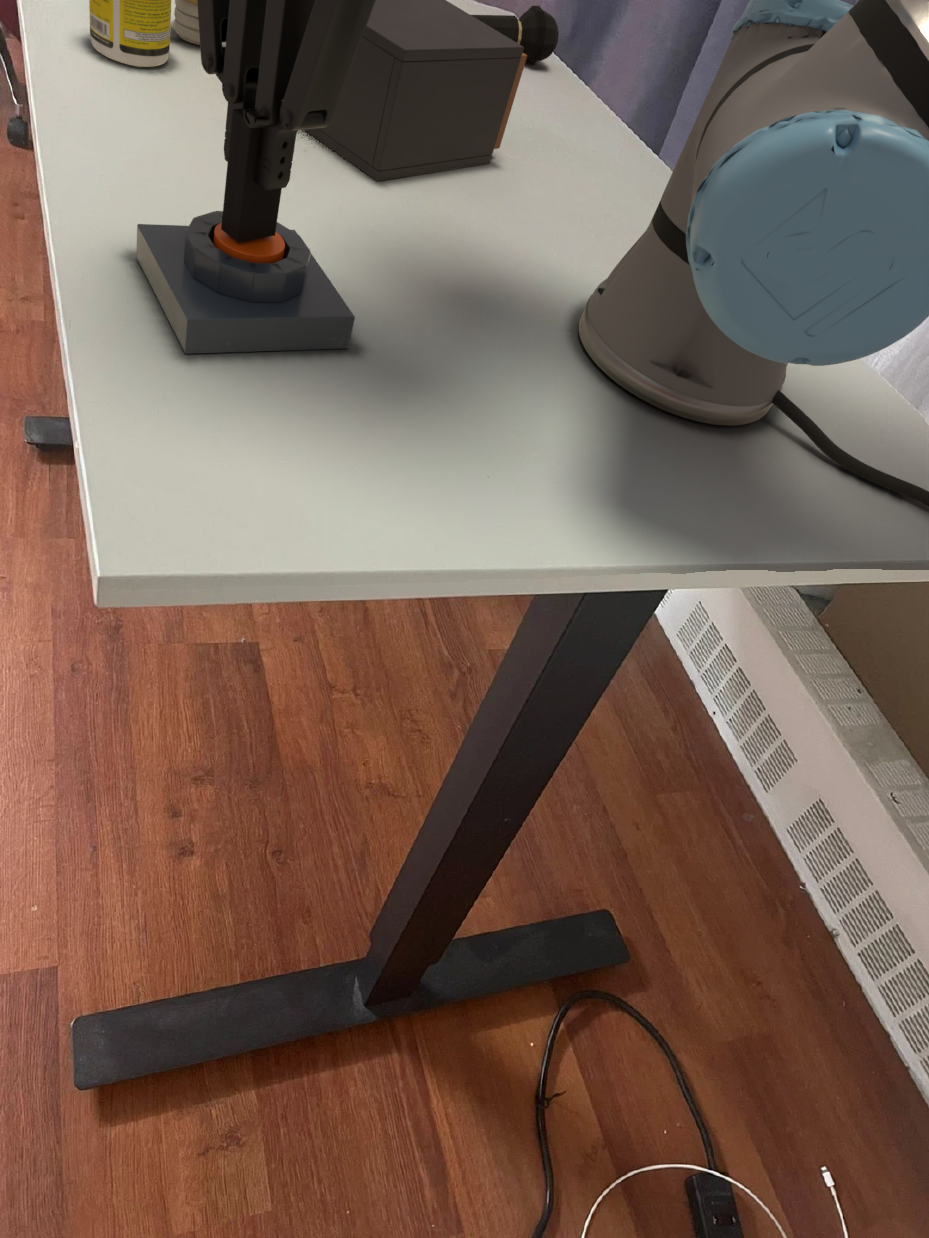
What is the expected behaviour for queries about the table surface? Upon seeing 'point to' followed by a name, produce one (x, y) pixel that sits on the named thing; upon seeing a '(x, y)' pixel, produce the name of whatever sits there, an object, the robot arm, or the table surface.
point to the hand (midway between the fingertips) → (248, 232)
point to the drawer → (510, 100)
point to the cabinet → (422, 91)
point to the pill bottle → (131, 30)
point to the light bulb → (187, 20)
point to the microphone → (527, 31)
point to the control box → (240, 292)
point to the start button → (250, 247)
